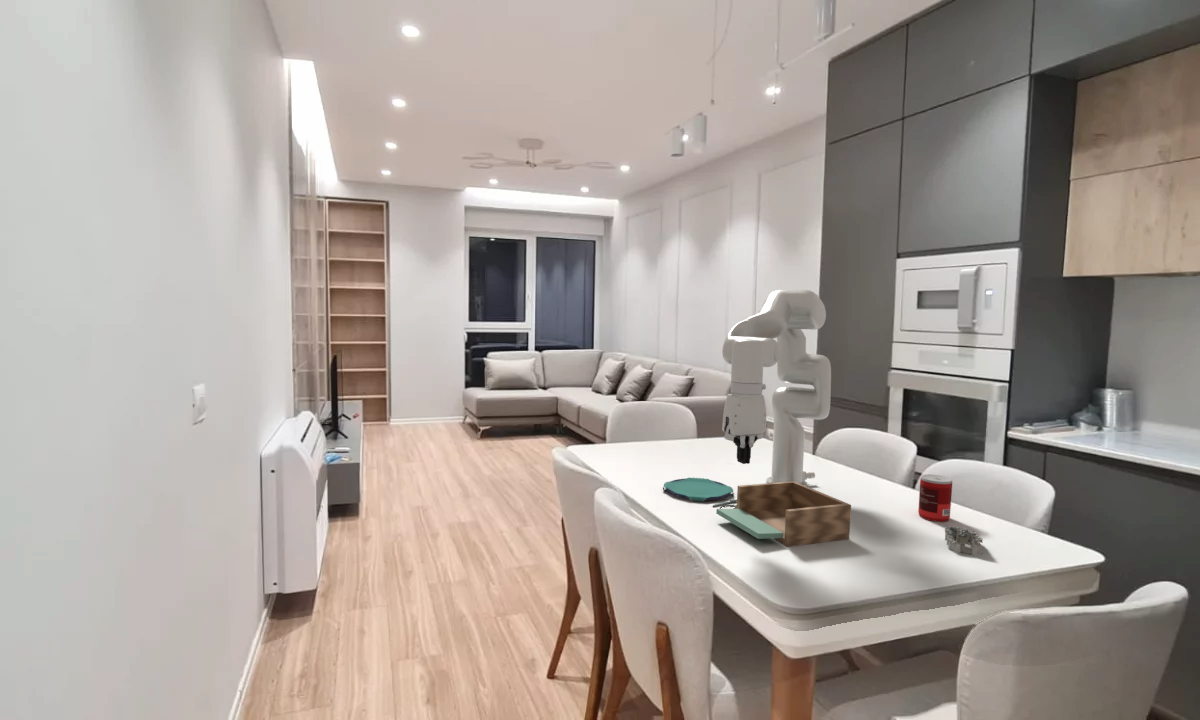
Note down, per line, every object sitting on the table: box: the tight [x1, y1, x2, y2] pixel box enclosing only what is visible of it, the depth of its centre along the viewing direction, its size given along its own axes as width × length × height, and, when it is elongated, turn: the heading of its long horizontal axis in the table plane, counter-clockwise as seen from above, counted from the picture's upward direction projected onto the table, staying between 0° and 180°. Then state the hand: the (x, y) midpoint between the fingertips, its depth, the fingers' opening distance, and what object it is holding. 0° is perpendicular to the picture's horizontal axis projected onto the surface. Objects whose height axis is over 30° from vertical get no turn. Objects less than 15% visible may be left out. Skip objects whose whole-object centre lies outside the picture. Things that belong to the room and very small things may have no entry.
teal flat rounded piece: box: [662, 477, 737, 509], centre depth 183 cm, size 20×30×2 cm, turn 35°
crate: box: [736, 481, 852, 547], centre depth 157 cm, size 18×22×8 cm
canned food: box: [917, 473, 953, 523], centre depth 168 cm, size 8×8×11 cm
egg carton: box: [944, 524, 984, 556], centre depth 147 cm, size 11×8×4 cm
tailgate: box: [716, 508, 783, 540], centre depth 153 cm, size 1×19×7 cm
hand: (743, 462), depth 153 cm, fingers closed
